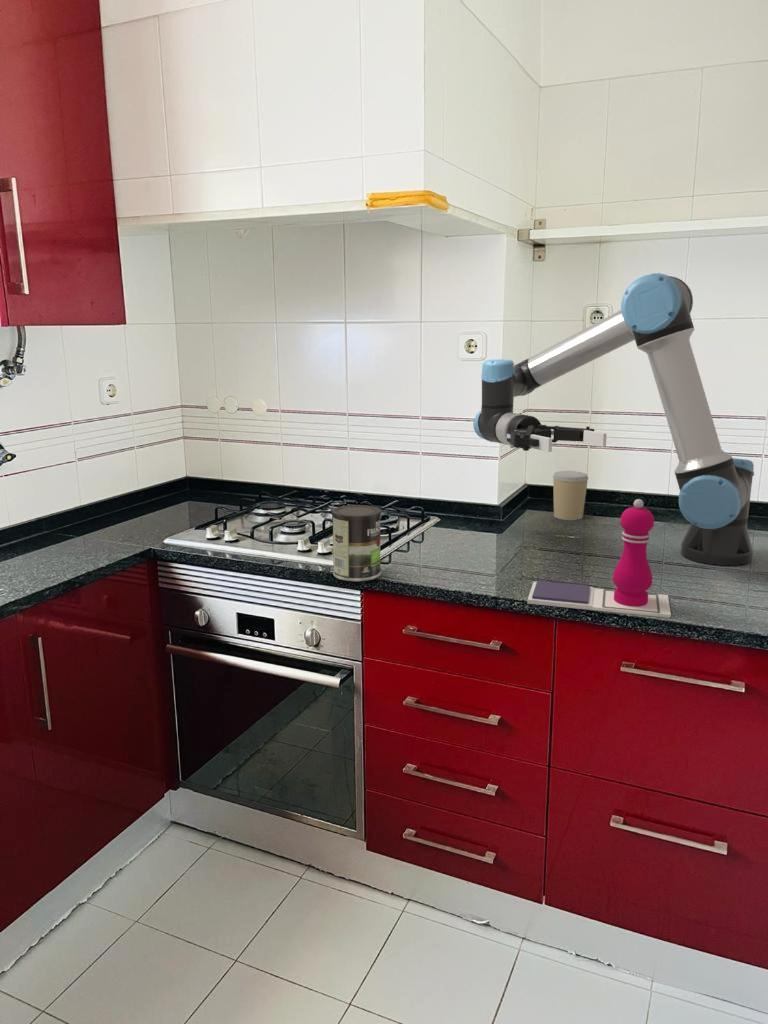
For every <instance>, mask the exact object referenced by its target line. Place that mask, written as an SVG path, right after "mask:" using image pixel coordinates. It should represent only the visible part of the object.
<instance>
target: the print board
mask: <svg viewBox="0 0 768 1024" xmlns="http://www.w3.org/2000/svg"><path fill="white" fill-rule="evenodd" d="M614 590H615V589H607V588H597V587H596V588H595V587H594V593H593V602H592V610H591V611H598V612H610V613H618V614H628V615H637V616H638V615H639V616H648V617H655V618H657V617H658V618H666V619H667V618H668V619H671V617H672V613H671V607H670V600H669V595H668V594H661V593H660V594H659V593H650V592H647V593H648V603H647V604H646V605H643V606H626V605H622V604H619V603H617V602H616V601H615V600H614Z"/></svg>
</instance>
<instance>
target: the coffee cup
mask: <svg viewBox="0 0 768 1024" xmlns="http://www.w3.org/2000/svg"><path fill="white" fill-rule="evenodd" d="M552 478H553V481H552V482H553V517H554V518H556V519H559V520H564V521H577V519H578V520H581V519H583V517H584V511H585V503H586V495H587V487H588V480H589V476H588V474H587V473H585V472H582V471H577V470H575V471H574V470H561V471H556V472H554V473H553V476H552Z"/></svg>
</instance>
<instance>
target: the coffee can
mask: <svg viewBox="0 0 768 1024" xmlns="http://www.w3.org/2000/svg"><path fill="white" fill-rule="evenodd" d="M381 514H382V510H381V508H380V507H376V506H372V505H366V504H364V505H363V504H351V505H350V504H349V505H342V506H338V507H337V506H336V507H334V508H333V509H332V510H331V515H332V550H333V551H332V554H333V555H332V556H333V557H332V559H333V563H332V564H333V572H332V575H333V577H335V578H336V579H338V580H342V581H347V582H366V581H371V580H375V579H378V578H379V577H380V576H381V575H382V574H381Z"/></svg>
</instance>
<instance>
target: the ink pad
mask: <svg viewBox="0 0 768 1024" xmlns="http://www.w3.org/2000/svg"><path fill="white" fill-rule="evenodd" d="M594 588H595V586H590V585H586V584H585V585H584V584H576V583H575V584H573V583H564V582H563V583H562V582H554V581H545V580H544V581H543V580H537V581H533V582H532V586H531V588H530V590H529V594H528V597H527V604H530V605H539V606H547V607H548V606H549V607H550V606H551V607H557V608H569V609H579V610H586V611H588V610H589V611H593V610H592V602H593V593H594Z"/></svg>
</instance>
